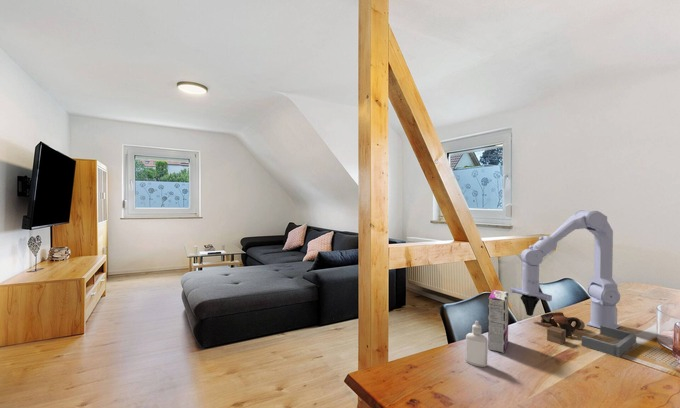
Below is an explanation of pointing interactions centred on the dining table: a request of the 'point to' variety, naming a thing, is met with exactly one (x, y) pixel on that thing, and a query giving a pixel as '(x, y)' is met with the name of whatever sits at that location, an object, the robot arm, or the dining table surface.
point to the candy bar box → (498, 321)
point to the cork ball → (581, 324)
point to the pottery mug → (561, 322)
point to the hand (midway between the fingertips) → (529, 315)
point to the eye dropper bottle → (476, 347)
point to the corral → (615, 350)
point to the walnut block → (556, 335)
